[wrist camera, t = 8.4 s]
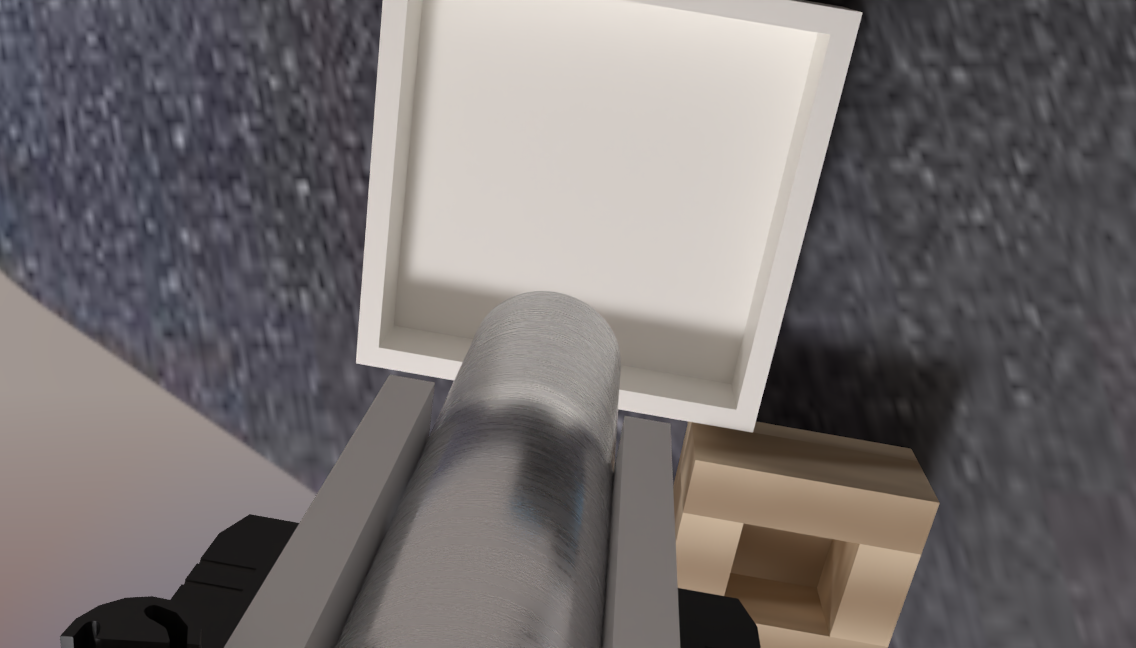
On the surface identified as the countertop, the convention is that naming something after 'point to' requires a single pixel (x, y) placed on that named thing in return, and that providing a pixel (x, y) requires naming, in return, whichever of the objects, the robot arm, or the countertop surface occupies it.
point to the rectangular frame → (601, 181)
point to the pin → (506, 494)
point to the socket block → (802, 530)
